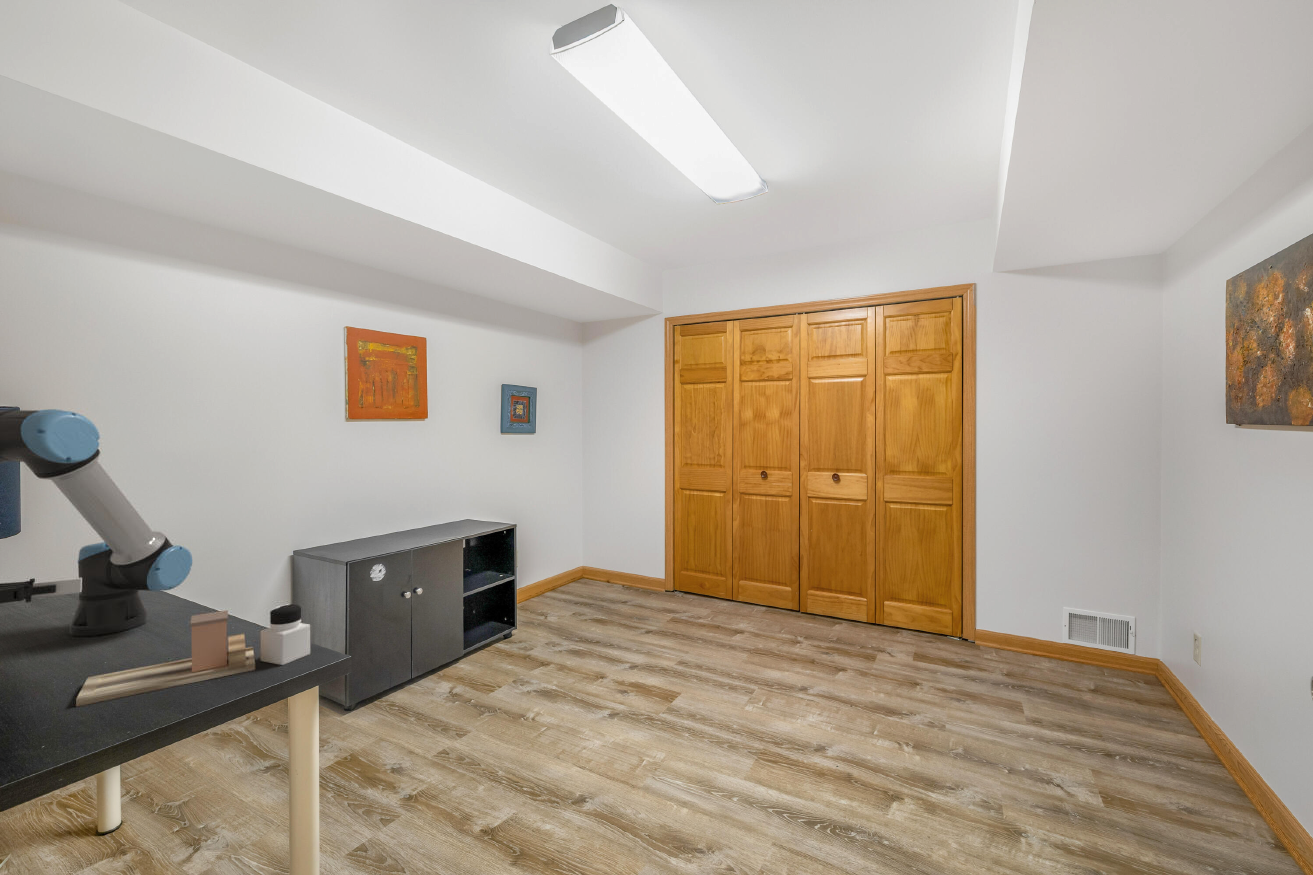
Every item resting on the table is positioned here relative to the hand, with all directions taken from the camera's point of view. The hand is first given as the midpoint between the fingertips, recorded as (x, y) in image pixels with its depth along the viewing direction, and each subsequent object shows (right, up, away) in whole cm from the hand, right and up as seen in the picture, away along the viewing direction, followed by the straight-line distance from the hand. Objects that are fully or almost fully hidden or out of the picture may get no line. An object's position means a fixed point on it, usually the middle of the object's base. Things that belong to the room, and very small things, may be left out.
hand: (81, 584), depth 114 cm
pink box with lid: (+17, -21, +12) cm, 29 cm away
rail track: (+12, -22, +8) cm, 26 cm away
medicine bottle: (+29, -22, +19) cm, 41 cm away
